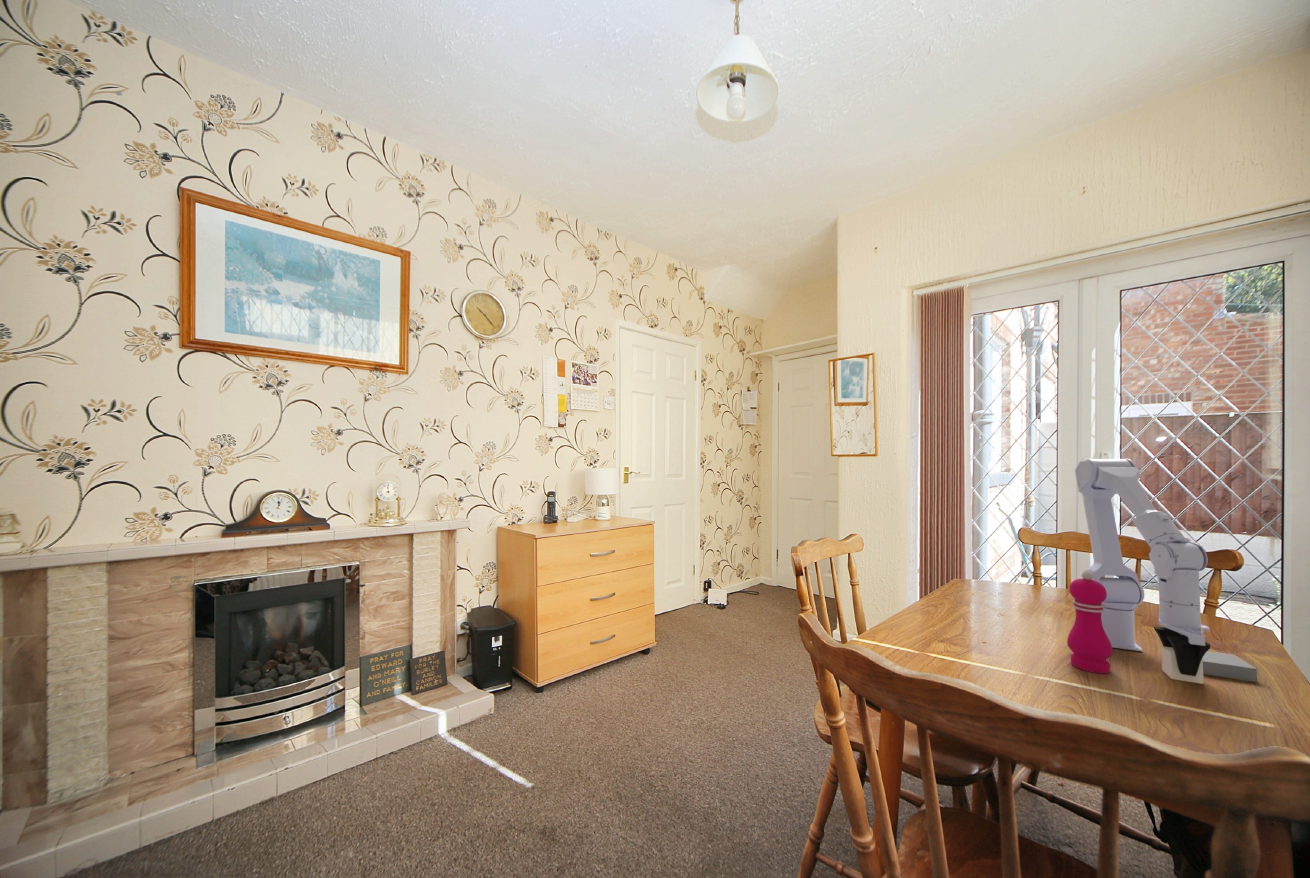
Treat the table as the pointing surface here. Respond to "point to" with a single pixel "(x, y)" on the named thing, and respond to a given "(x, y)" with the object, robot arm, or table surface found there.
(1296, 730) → the table surface
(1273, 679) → the table surface
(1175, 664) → the cream block
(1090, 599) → the pepper mill
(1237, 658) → the gray base block
